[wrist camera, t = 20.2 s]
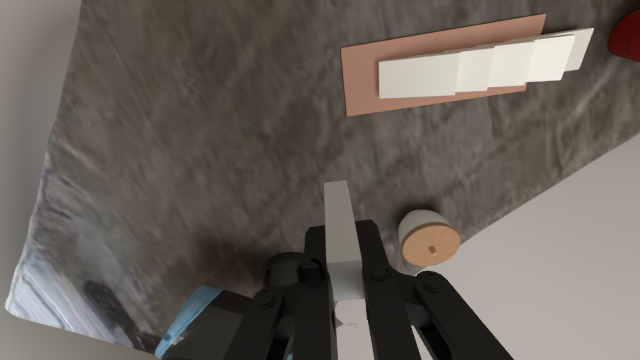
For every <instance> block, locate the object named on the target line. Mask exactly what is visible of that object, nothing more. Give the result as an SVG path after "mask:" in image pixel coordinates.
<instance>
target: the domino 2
mask: <svg viewBox="0 0 640 360" xmlns="http://www.w3.org/2000/svg"><path fill="white" fill-rule="evenodd" d="M458 51H461V54H460V61H459V69H458V76H457V84H456V91H455V92H472V91H487V88H488V83H489V78H490V73H491V68H492V63H493V58H494V53H495V47H494V46H492V47H484V48H475V49H467V50H458ZM458 51H450V52H458ZM441 53H449V52H441ZM433 54H440V53H433ZM424 55H432V54H424ZM416 56H423V55H416ZM410 57H415V56H410Z"/></svg>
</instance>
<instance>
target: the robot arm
mask: <svg viewBox="0 0 640 360" xmlns="http://www.w3.org/2000/svg"><path fill="white" fill-rule="evenodd" d="M324 195H325V225H323V226H314V227H309V229H308V230H307V232H306V234H305V249H304V255H303V254H299V253H284V254H280V255H277V256H275V257H273V258H271V259H270V260H269V261H268V262H267V263H266V264H265V266H264V269H263V273H262V286H263V289H261V290H260V291H259V292H257V293H256V295H255V296H254V298H253V299H252V298H249V297H246V296H243V295H239V294H236V293H233V292H230V291H227V290H225V289H224V288H216V287H212V286H209V285H202V286H200V287H198V288H197V289H195V290H194V291H193V293H192V294H191V295H190V297H189V298H188V299H187V301H186V302H185V304H184V305H183V307H182V308H181V310H180V311H179V313H178V314H177V316H176V317H175V319H174V320H173V322H172V324H171V325H170V327H169V328H168V330H167V332H166V334H165V335H164V337H163V339H162V340H161V341H160V343H159V345H158V347H157V349H156V351H155V356H157V357H158V359H161V358H162V360H338V354H337V336H336V319H335V310H334V301H342V300H352V299H364V298H365V302H366V313H367V320H368V324H369V329H370V336H371V342H372V347H373V353H374V359H375V360H421V356H420V353H419V350H418V347H417V344H416V341H415V337H414V334H413V331H412V328H411V325H414V327H415V329H416V331H417V332H418V334H419V336H420V338H421V339H422V341H423V343H424V345H425V346H426V348H427V350H428V351H429V353H430V355H431V357H432V358H433V360H514V359H513V358H512V357H511V356H510V354H509V353H508V352H507V351H506V350H505V348H504V347H503V346H502V345H501V344H500V343H499V341H498V340H497V339H496V338H495V336H494V335H493V334H492V333H491V332H490V330H489V329H488V328H487V327H486V326H485V325H484V323H483V322H482V321H481V320H480V319H479V317H478V316H477V315H476V314H475V313H474V311H473V310H472V309H471V308H470V307H469V305H468V304H467V303H466V302H465V301H464V300H463V299H462V297H461V296H460V295H459V294H458V292H457V291H456V290H455V289H454V288H453V286H452V285H451V284H450V283H449V282H448V280H447V279H446V278H444V277H443V276H442V275H441V274H439V273H436V272H433V271H422V272H420V273H419V274H417V276H416V277H415V276H410V275H405V274H402V273H399V272H397V271H396V270H394V269H393V268H392V267H391V266H390V264H389V262H388V259H387V256H386V253H385V250H384V246H383V243H382V240H381V237H380V234H379V230H378V227H377V225H376V224H375V223H374V222H373V221H372V220H363V221H354V216H353V211H352V206H351V200H350V195H349V190H348V185H347V180H343V181H336V182H328V183H324Z"/></svg>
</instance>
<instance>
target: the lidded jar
mask: <svg viewBox="0 0 640 360" xmlns="http://www.w3.org/2000/svg"><path fill="white" fill-rule="evenodd" d="M398 239H399V244H400V247H401V251H402V254H403V256H404V258H405V259H406V260H407V261H409V262H410V263H412V264H415V265H418V266H431V265H436V264H439V263H442V262H444V261H446V260H448V259H449V258H450V257H452V256H453V255H454V254H455V253H456V251H457V250H458V248H459V245H460V237H459V234H458V233H457V232H456V230H455V229H454V228H453V227H452V226H451V224H450V223H449V222H448V221H447V220H446V219H445V218H444V217H443V216H441V215H440V214H438V213H436V212H434V211H430V210H414V211H411V212H409V213H408V214H407V215H406V216H405V217H404V218H403V220H402V221H401V223H400V225H399V228H398Z"/></svg>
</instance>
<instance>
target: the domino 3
mask: <svg viewBox="0 0 640 360" xmlns="http://www.w3.org/2000/svg"><path fill="white" fill-rule="evenodd" d="M535 45H536V41H534V40H530V41H521V42H513V43H505V44H496V45H488V46H479V47H471V48H462V49H454V50H446V51H443V52H450V51H458V50H467V49H475V48H484V47H492V46H494V47H495V53H494V58H493V63H492V68H491V73H490V78H489V83H488V87H503V86H522V85H525V81H526V78H527V74H528V70H529V67H530V63H531V59H532V56H533V52H534V48H535Z"/></svg>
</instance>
